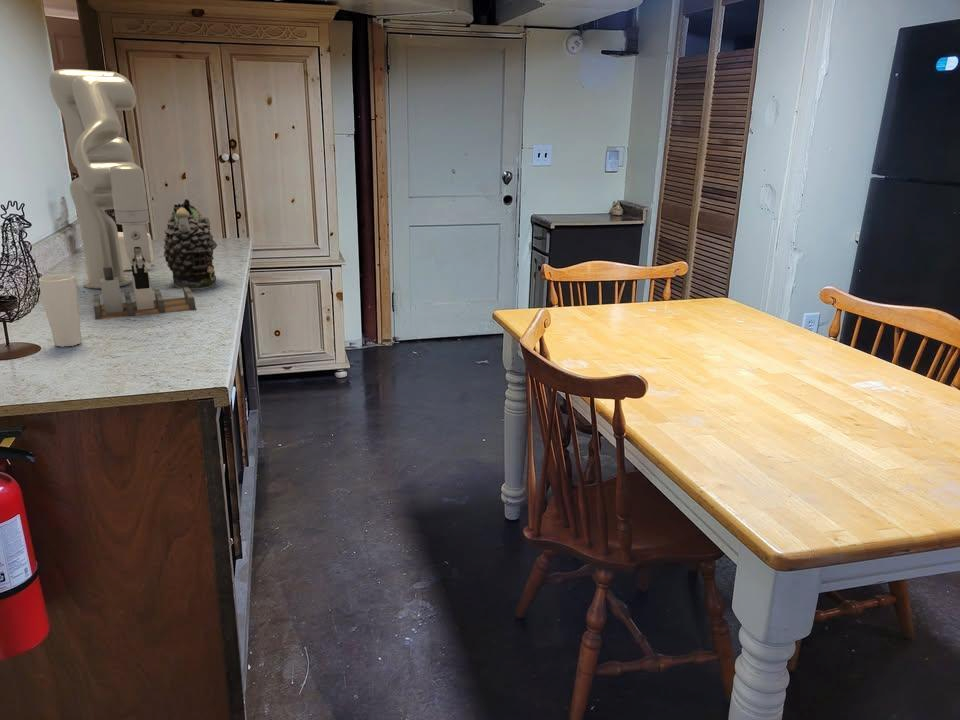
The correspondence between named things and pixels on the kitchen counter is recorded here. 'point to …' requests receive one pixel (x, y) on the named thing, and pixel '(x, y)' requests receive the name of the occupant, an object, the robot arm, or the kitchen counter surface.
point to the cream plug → (143, 296)
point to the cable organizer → (124, 255)
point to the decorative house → (189, 248)
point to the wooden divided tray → (159, 307)
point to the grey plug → (111, 292)
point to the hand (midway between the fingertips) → (141, 284)
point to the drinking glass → (61, 308)
